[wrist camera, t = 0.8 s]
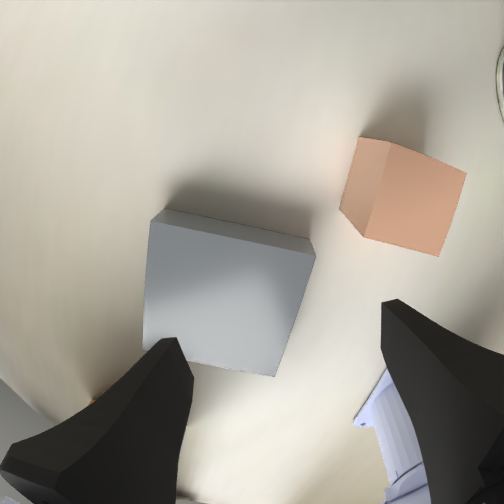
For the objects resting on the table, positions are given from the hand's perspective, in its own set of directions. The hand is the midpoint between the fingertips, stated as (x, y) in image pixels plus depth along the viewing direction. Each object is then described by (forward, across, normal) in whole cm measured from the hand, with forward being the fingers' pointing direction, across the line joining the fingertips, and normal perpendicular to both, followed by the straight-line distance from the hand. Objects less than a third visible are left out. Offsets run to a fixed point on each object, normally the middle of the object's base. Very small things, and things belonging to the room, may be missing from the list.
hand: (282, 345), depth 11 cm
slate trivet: (+10, +4, +2) cm, 11 cm away
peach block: (+10, -7, -3) cm, 12 cm away
